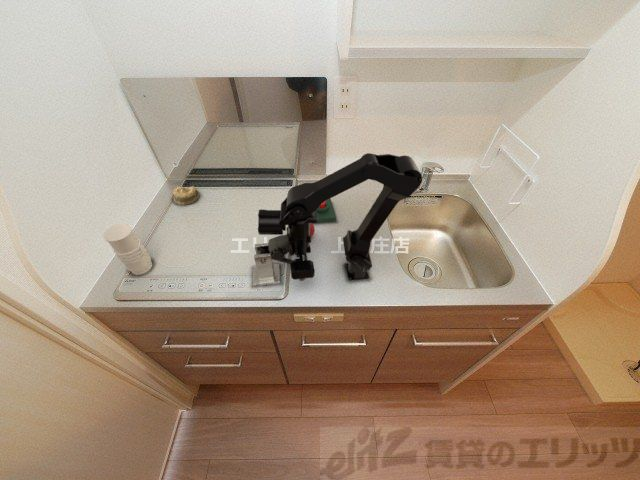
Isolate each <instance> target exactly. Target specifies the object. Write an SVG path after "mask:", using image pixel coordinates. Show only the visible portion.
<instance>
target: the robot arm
mask: <svg viewBox="0 0 640 480" xmlns="http://www.w3.org/2000/svg"><path fill="white" fill-rule="evenodd" d="M369 180H371V181H375V182H377V183H379V184H381V185H383V187H382V190H381V191H380V193H379V194H378V196H377V197H376V199H375V201H374V202H373V204H372V205H371V207H370V209H369V210H368V212H367V214H366V215H365V217H364V218H363V220H362V221H361V223H360V225H359V226H358V228H357V229H355V230H350V229H349V230H347V231H346V234H345V236H343V237H342V242H343V243H342V244H343V249H344V255H345V261H346V262H347V263H344V268H345V272H346V275H347V279H348V281H360V280H361V281H362V280H369V279H370V276H369V272H368V271H370V270H371V269H372V268H373V264H372V258H371V254H370V249H371V248H370V247H371V243H372V240H373V239H374V238H375V236H376V235H377V234H378V232H379V231H380V229H381V228H382V227H383V225H384V223H385V222H386V221H387V219H388V218H389V216H390V215H391V213H392V212H393V211H394V209H395V208H396V207H397V205H398V204H399V203H400V202H401V201H404V200H405V199H408V198H409V197H411V196H412V194H414V192H416V191H417V190H418V189H419V188H420V186H421V184H422V183H423V176H422V173H421V171H420V169H419V168H418V165H417V163H416V162H415V160H414V159H413V158H412V157H411V156H409V155H400V156H399V155H395V154H391V153H386V154H384V153H383V154H376V153H371V152H369V153H364V154H363V155H362V156H361V157H359V158H358V159H356V160H355V161H353V162H350V163H349V164H347V165H345V166H344V167H341V168H340V169H338V170H336V171H334V172H332V173H330V174H329V175H326V176H325V177H323V178H321V179H319V180H317V181H314V182H303V183H301V184H298V185H295V186H292V187H290V188H289V190H288V191H287V194H286V197H285V199H284V200H283V201H282V202H281V203H280V209H258V213H257V217H258V219H257V221H258V223H257V233H258V235H259V236H260V235H261V236H264V235H265V236H274V237H272V238H270V239H269V240H268V242H267V243H268V246H269V251H270V254H271V258H274V259H275V260H274V261H277V260H280V259H283V258H286V255H287V254H288V256H289V257H294V256H296V258H299V261H293V262H292V263H291V264H289V265H290V278H291V279H292V280H299V281H300V282H304V281H305V280H306V279H313V278H314V277H315V273H316V270H315V265H314V261H313V260H311V259H308V254H309V253H312V249H311V243H312V237H310V223H313V224H318V223H317V222H318V219H317V212H315V211H316V210H317V209H318V208H319V206H320V205H321V204H322V203H323V202H325V201H326V200H328V199H330V198H331V199H332V198H334V197H336V196H339V195H340V194H343V193H344V192H347V191H348V190H350V189H352V188H354V187H356V186H359V185H360V184H362V183H364V182H366V181H369ZM285 231H286V234H284V232H285Z"/></svg>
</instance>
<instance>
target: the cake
mask: <svg viewBox="0 0 640 480" xmlns="http://www.w3.org/2000/svg"><path fill="white" fill-rule="evenodd" d="M172 196H173V202H174V203H175V204H177V205H179V206H186V205H191V204H193V203H195V202H196V201H197V200H198V199H199V198H200V196H201V195H200V192H199V191H198V189H197V188H196V187H195V186H194V185H192V186H190V187H189V188H188V187H187V188H186V187H184V186H176V188H174V189H173V190H172Z"/></svg>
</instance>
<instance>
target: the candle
mask: <svg viewBox="0 0 640 480" xmlns="http://www.w3.org/2000/svg"><path fill="white" fill-rule="evenodd" d="M102 238H103V239H104V241H106V242H107V243H108V244H109V246H110V247H111V248H112V249H113V253H114V254H115V255H116V257H117V258H118V260H119V261H120V262H121V263H122V264H123V265H124V267H125V268H126V269H127V271H128V272H131V274H133V275H137V276H139V275H143V274H146V273H148V272H149V271H150V270H151V269H152V267H153V262H152V258H151V256H150V254H149V253H148V251H147V249H146V248H145V246H144V244H143V243H142V240H140V239H139V238H138V237H137V235H136V234H135V232H134V231H133V227H132V226H131V225H130V224H128V223H119V224H114V225H112V226H110V227H109V228H107V229H106V230H105V231H104V232H103V234H102Z"/></svg>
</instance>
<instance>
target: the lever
mask: <svg viewBox="0 0 640 480" xmlns="http://www.w3.org/2000/svg"><path fill="white" fill-rule="evenodd" d="M269 253H270V251H269V250H267V249H264V248H261V247H260V249H259V250H258V252H257V255H258V254H269ZM271 259H273V261H277V262H281V263H285V264H288V265H290V264H291V263H292V262H293V261H299V257H296V258H294V259H291V258H287V257H284V258H283V259H280V260H275V259H274V258H271Z"/></svg>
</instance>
